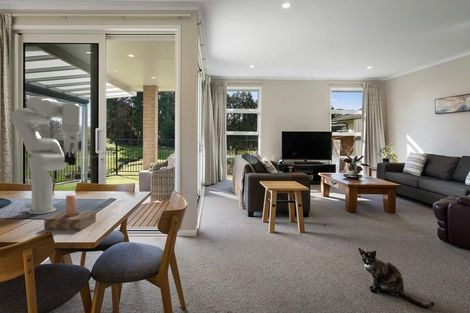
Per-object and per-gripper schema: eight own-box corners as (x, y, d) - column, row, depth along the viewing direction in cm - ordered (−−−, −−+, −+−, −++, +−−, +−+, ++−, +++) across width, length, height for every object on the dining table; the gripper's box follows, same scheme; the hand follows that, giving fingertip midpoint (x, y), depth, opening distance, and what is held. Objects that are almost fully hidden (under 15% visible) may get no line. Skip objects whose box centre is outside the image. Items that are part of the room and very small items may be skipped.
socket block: (44, 229, 128) (44, 218, 128) (62, 220, 142) (62, 210, 142) (80, 230, 128) (80, 219, 128) (95, 221, 142) (95, 211, 142)
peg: (64, 226, 133) (64, 196, 132) (69, 224, 137) (69, 194, 136) (73, 227, 133) (72, 196, 132) (77, 224, 137) (77, 195, 136)
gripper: (82, 130, 137) (82, 165, 139) (75, 128, 151) (75, 161, 152) (64, 129, 132) (64, 166, 134) (58, 127, 146) (58, 161, 147)
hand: (69, 163), depth 143 cm, fingers open, 9 cm apart
